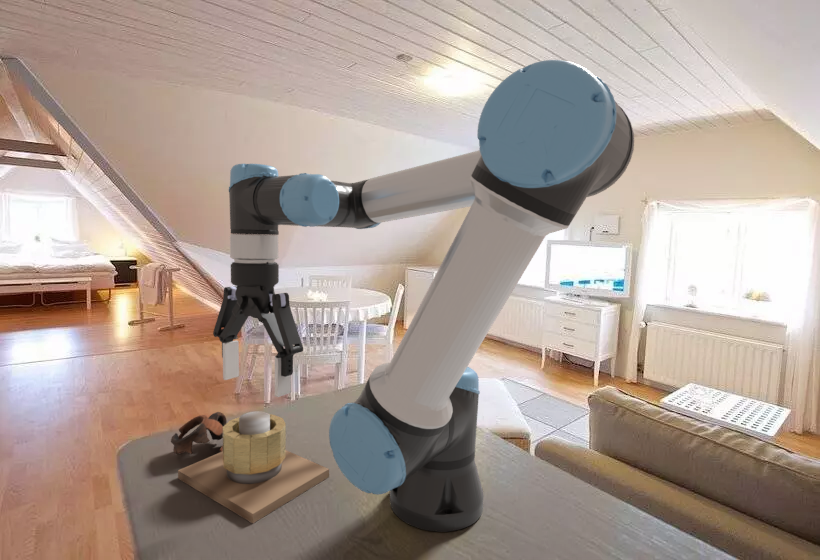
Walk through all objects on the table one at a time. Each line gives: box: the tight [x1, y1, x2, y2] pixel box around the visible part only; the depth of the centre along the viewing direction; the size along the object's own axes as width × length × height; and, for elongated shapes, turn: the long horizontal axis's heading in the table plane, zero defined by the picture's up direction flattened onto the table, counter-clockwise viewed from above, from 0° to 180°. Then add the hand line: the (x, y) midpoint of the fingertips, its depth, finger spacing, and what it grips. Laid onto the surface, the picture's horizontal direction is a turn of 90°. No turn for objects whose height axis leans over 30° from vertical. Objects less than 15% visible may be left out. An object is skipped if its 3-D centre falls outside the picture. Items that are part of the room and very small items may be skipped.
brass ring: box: [222, 413, 287, 475], centre depth 78 cm, size 10×10×6 cm
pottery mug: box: [170, 411, 228, 455], centre depth 88 cm, size 12×10×8 cm
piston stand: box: [177, 410, 330, 524], centre depth 78 cm, size 20×16×11 cm
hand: (255, 386), depth 77 cm, fingers open, 13 cm apart
